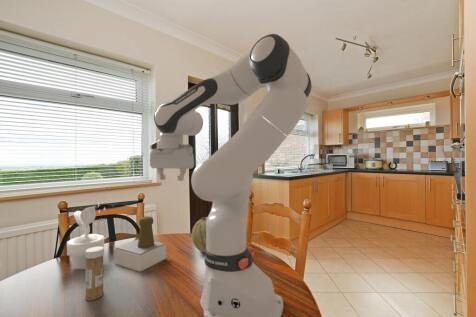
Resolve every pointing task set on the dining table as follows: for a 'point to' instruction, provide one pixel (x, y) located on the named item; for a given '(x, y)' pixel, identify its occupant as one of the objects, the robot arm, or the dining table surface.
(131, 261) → the white lidded box
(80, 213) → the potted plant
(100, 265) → the sprinkles bottle
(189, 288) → the dining table surface
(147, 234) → the brown tapered cylinder
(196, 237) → the cantaloupe
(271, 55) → the robot arm
